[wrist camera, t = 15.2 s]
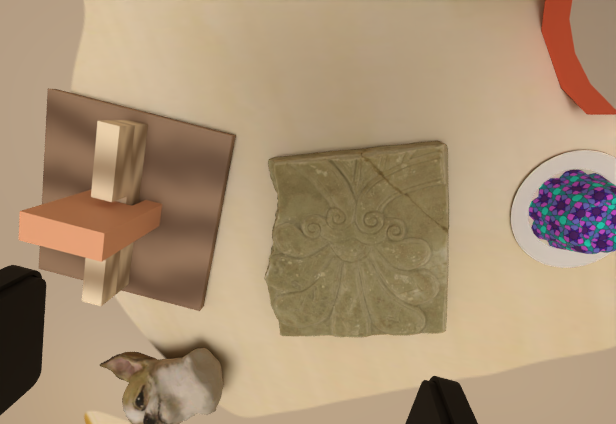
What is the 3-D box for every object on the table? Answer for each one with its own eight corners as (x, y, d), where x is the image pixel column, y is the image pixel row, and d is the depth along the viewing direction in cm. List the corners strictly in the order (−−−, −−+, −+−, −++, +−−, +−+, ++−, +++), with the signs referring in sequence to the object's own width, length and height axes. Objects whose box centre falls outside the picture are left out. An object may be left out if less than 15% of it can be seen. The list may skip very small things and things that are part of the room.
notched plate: (98, 187, 39) (19, 211, 29) (162, 204, 39) (104, 233, 29) (96, 209, 40) (18, 239, 30) (159, 226, 40) (101, 261, 30)
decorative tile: (442, 139, 37) (453, 142, 33) (440, 321, 42) (449, 339, 38) (256, 153, 39) (248, 157, 35) (276, 325, 44) (270, 343, 40)
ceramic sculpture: (226, 456, 37) (104, 475, 40) (251, 393, 46) (148, 413, 49) (185, 368, 35) (59, 395, 38) (219, 318, 43) (113, 345, 46)
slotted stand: (56, 89, 38) (4, 84, 32) (235, 135, 38) (216, 139, 32) (46, 264, 43) (-1, 288, 37) (203, 305, 43) (181, 336, 37)
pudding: (590, 281, 39) (627, 306, 34) (485, 239, 39) (508, 257, 34) (660, 177, 36) (713, 187, 31) (547, 130, 36) (582, 132, 30)
